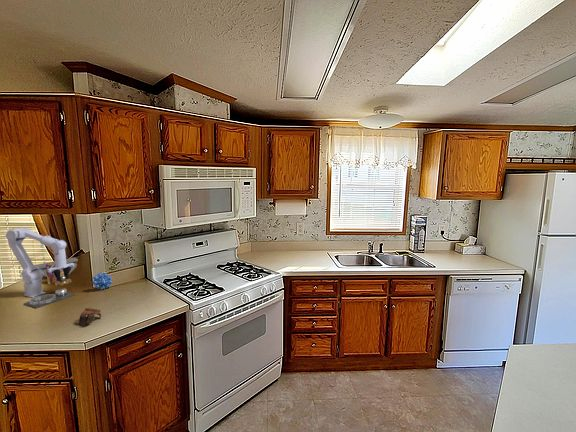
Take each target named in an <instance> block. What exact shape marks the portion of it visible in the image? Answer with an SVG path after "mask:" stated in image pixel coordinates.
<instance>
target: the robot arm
mask: <svg viewBox="0 0 576 432" xmlns="http://www.w3.org/2000/svg"><path fill="white" fill-rule="evenodd" d="M4 237H5V238H6V239H7V242H8V246H9V248H10V249H11V251H12V253H13V255H14V256H15V258H16V259H17V261H18V263H19V265H20V267H21V268H22V271H21V273H20V274H21V278H22V281H23V282H24V284H23V289H24V294H23V296H25V297H29V298H35V297H38V296H41V295H45V294H46V291H43V284H42V279H43V277H44V273H43V271H42V270H40V269H39V267H38V266H35V265H36V264H34V263H33V261H32V260H31V258H30V256H29V254H28V253H27V251H26V249H25V247H24V245H23V241H24V240H25V239H26V238H29V239H32V240H35V241H38V242H40V244H41V245H43V246H46V247H48V248H51V250H52V253H53V256H54V261H55V267H53V268H50V269H47V270H48V272H52V273H53V274H54V275H55V276H56V278H57V281H61V277H60V274H61V271H59V270H60V269H63V272H64V276H66V279H69V275H70V274H69V272H70V270H71V268H70V267H71V266H74V263H75V262H74V263H69V264H67V263H66V259H67V255H66V248H67V245H68V244H67V242H66V241H65V240H64V239H57V238H54V237H51V235H41V234H39V233H36V232H34V231H33V230H31V229H30V228H29V227H28V228H27V227H23V226H21V227H19V228H14V229H9V230H7V231H6V233H5V236H4Z"/></svg>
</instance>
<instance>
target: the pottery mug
mask: <svg viewBox="0 0 576 432" xmlns="http://www.w3.org/2000/svg"><path fill="white" fill-rule="evenodd" d="M96 315H97V316H99V319H101V317H102V313H101V310H100V309H97V308H90V307H86V308H85V309H84V310H83V311H82V312H81V313H80V315H79V319H78V325H79V326H80V325H81V326H84V327H85V326H86V324H92V323H93V322H94V318H95V316H96Z"/></svg>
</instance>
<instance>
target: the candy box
mask: <svg viewBox="0 0 576 432" xmlns="http://www.w3.org/2000/svg"><path fill="white" fill-rule="evenodd" d="M45 263H46V273H47V277H46V279H47V284H48V285H55V282H56V281H57V278H56V276H55V275H54V274H53V273H52V272H48V270H47V269H50V268H53V267H55V262H53V261H48V262H45ZM59 271H61V274H60V276H64V272H63V269H60V270H59Z"/></svg>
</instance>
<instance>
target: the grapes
mask: <svg viewBox="0 0 576 432" xmlns="http://www.w3.org/2000/svg"><path fill="white" fill-rule="evenodd" d="M91 281H92V282H91V283H92V285H94V287H95V289H100V290H102V291H103V289H104V290H105V289H109V288H110V287H111V285H112V284H113V280H112V276H111V275H108V273H107V272H104V273H102V272H98V273H97V274H96V275H94V276H93V280H91ZM108 287H109V288H108Z"/></svg>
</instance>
